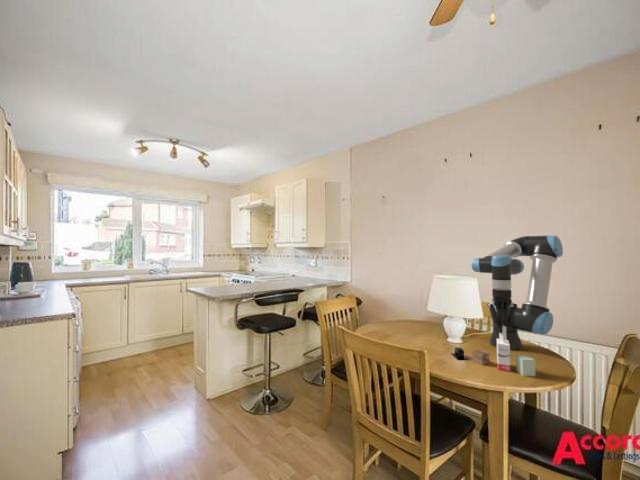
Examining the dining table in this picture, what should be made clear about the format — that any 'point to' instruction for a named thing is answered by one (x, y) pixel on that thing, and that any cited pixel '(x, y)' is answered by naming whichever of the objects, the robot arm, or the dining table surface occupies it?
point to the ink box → (503, 355)
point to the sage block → (525, 365)
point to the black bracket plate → (459, 354)
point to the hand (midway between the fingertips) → (502, 339)
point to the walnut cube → (481, 357)
